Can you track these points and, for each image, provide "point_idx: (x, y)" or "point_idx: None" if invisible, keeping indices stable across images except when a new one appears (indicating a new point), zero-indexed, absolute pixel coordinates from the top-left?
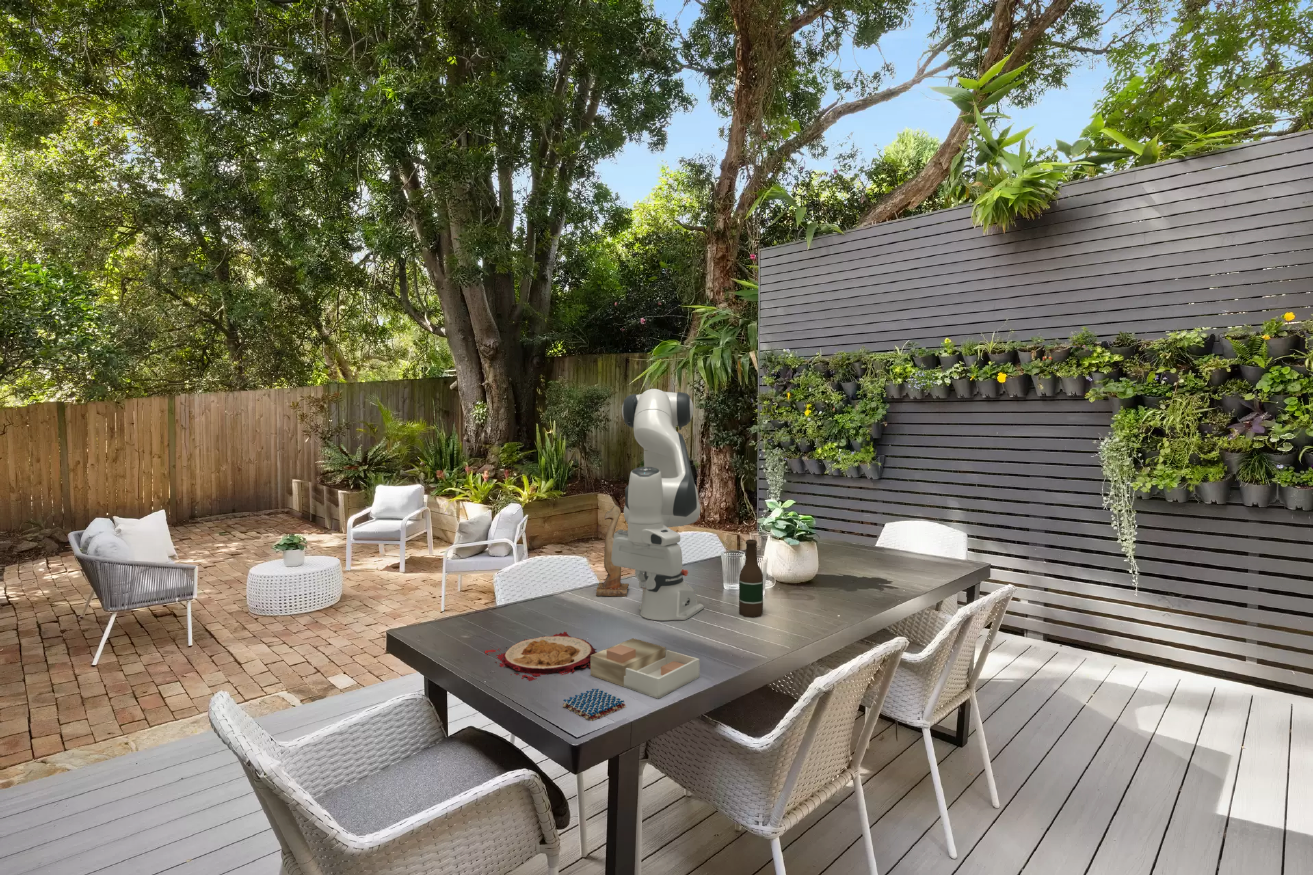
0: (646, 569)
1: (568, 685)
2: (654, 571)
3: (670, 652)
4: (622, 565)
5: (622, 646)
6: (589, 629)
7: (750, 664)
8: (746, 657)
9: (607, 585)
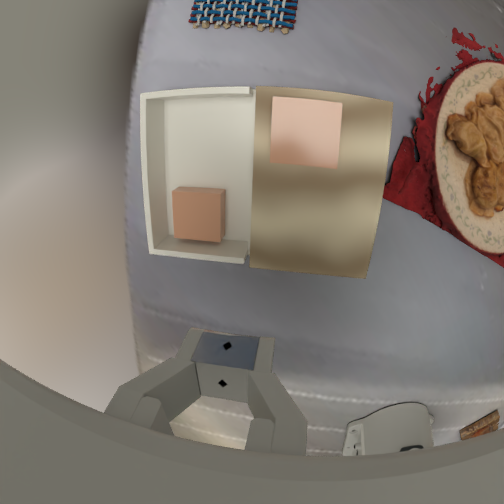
0: (104, 432)
1: (376, 35)
2: (34, 392)
3: (229, 255)
4: (460, 453)
5: (321, 158)
6: (489, 322)
7: (144, 326)
8: (168, 348)
9: (487, 430)
